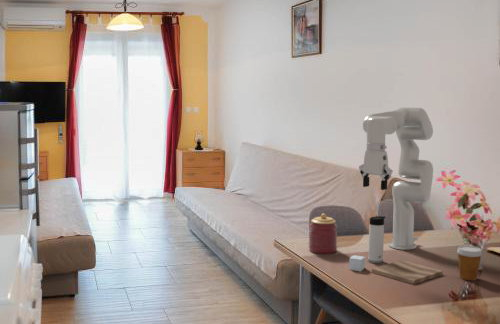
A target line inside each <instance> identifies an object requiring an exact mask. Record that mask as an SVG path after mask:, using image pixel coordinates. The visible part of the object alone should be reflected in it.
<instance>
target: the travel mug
mask: <svg viewBox="0 0 500 324" xmlns="http://www.w3.org/2000/svg"><path fill="white" fill-rule="evenodd" d="M385 219H386V216H384V215H383V216H381V215H380V216H378V215H377V216H370V218H369V224H368V225H369V226H368V227H369V229H368V232H369V233H368V257H367V258H368V262H369V263H371V264H382V263H384V243H385V242H384V241H385V240H384V237H385V236H384V235H385Z"/></svg>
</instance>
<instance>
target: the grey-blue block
mask: <svg viewBox="0 0 500 324" xmlns="http://www.w3.org/2000/svg"><path fill="white" fill-rule="evenodd" d="M348 263H349V265H348V267H349V269H348V270H350V271H357V272H362V271H363V270H365V269H364V268H366V256H361V255H351V256H350V257H349V262H348Z"/></svg>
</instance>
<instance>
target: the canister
mask: <svg viewBox="0 0 500 324" xmlns="http://www.w3.org/2000/svg"><path fill="white" fill-rule="evenodd" d="M308 226H309V228H310V231H309V232H308V233H309V242H308V243H309V244H308V248H309V252H311V253H313V254H318V255H319V254H321V255H326V254H327V255H328V254H329V255H330V254H334V253H336V252H337V249H338V245H337V244H338V243H337V242H338V232H337V228H338V225H337V224H336V220H335V219H334V218H333V217H329V216H327V214H326V213H321V215H320V216H315V217H314V218H312V219H311V223H310V224H309V225H308Z"/></svg>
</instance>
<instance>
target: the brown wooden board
mask: <svg viewBox="0 0 500 324" xmlns="http://www.w3.org/2000/svg"><path fill="white" fill-rule="evenodd" d="M371 273H374V274H376V275H380V276H383V277H387V278H390V279H393V280H397V281H399V282H404V283H407V284H410V285H417V284H419V283H423V282H424V281H425V282H426V281H428V280H431V279H433V278H436V277H440V276H442V275H443V274H444V273H443V270H440V269H437V268H434V267H428V266H426V265H422V264H418V263H414V262H410V261H406V260H403V259H401V260H397V261H395V262H391V263H388V264H383V265H380V266H377V267H372V268H371Z"/></svg>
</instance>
